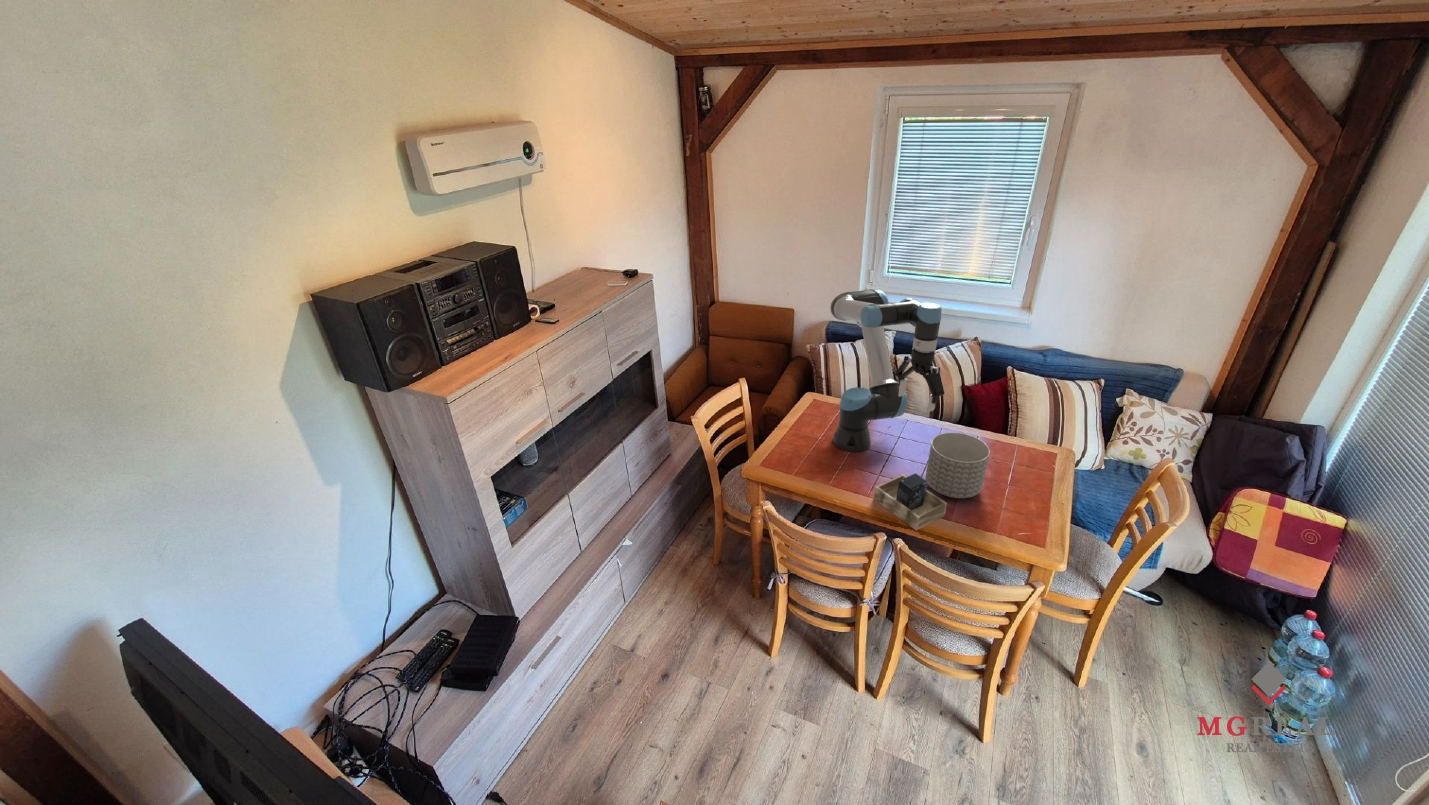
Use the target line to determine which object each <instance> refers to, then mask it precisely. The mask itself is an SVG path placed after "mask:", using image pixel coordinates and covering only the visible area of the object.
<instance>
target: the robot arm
mask: <svg viewBox="0 0 1429 805" xmlns="http://www.w3.org/2000/svg"><path fill="white" fill-rule="evenodd" d="M942 310H943V309H942V307H941V306H940V305H939V304H938V303H933V302H922V303H921V301H919V300H917V299H916V298H915V299H914V298H911V297H906V298H903V299H902V300H900V302H895V303H894V302H893V303H889V299H888V296H887V295H886V293H885V292H884V291H883V290H881V289H873V288H872V289H871V288H870V289H866V290H865V289H864V290H854V291H846V292H843V293H840V294H838V295H837V296H835V297H834V298H833V299H832V301H831V303H830V313H831V315H832V316H833V318H835V319H837V320H839V321H844V322H845V321H852V322H853V321H854V322H856V323H857V324H856V325H857V326H859V327H860V328H861V331H862V337H863V341H864V347H865V352H866V358H867V363H868V368H869V374H870V379H871V385H870V386H869V389H868V388H866V387H862V388H861V387H860V386H859V387H857V386H856V387H851V388H849V389H846V390H845V391H844V392H843V393H841V394H842V395H841V396H840V401H839V418H838V419H839V420H838V425H837V427H836V430H835V432H834V434H833V444H834V445H835V447H837V448H839V449H840V448H841V449H840V450H842V451H845V452H849V453H859V452H860V453H861V452H864V451H866V450H868V449H869V448H870V446H871V444H872V437H871V434H870V433H871V432H870V430H869V422H871V421H878V420H885V419H894V418H897V417H901V416H903V415H904V414H905V412H906V411H907V407H908V395H907V391H906V390H907V384H908V383H907V382H908V378H907V377H908V376H909V375H911V374H912V373H913V372H914V373H916V374H918V375H920V376H922V377H923V379H925V382H926V383H927V386H928V388H929V389H930V392H931V394H930V395H929V397H928V404H927V412H928V413H930V412H932V411H934V410H935V408H936V404H937V403H938V400H939V397H941V396H943V395H945V389H944V384H943V381H942V377H941V367H940V366H934V365H933V362H934V360H935V355H936V349H937V344H938V337H939V332H940V326H941V320H942ZM907 324H910V325H912V327H914V334H913V341H912V342H913V343H912V349H911V354H907V355H905V356H904V358H903V361H902V363H901V364H900V365H899V367H898V369H897V370H896V371H895V373H894V375H893V369H892V364H891V363H892V362H891V359H890V353H889V348H888V343H887V337H886V333H885V328H884V327H887V326H897V325H907ZM910 363H911V366H910V367H909V368H908V369H907V367H908V366H909V364H910ZM894 376H895V377H898V381H897V380H895V379H894Z"/></svg>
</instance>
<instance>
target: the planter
mask: <svg viewBox="0 0 1429 805" xmlns="http://www.w3.org/2000/svg"><path fill="white" fill-rule="evenodd" d="M990 456H991V449H990V448H989V446H988V444H987V443H985V442H984V441H982V440H981V439H980V438H979V437H975V436H973V435H970V434H967V433H963V432H962V433H961V432H950V431H949V432H943V433H939V434H938V435H936V436H934V437H933V438H932V440H931V442H930V448H929V453H928V460H927V466H926V470H925V471H926V472H925V478H924V479H925V480H926V481H927V486H929V488H931V489H932V490H933V491H935V492H937V493H938V494H941V495H943V496H946V497H949V498H954V499H968V498H973V497H976V496H977V495H979V493H981V491H982V488H983V484H984V479H985V476H986V473H987V467H988V464H989V458H990Z"/></svg>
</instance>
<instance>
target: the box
mask: <svg viewBox="0 0 1429 805" xmlns="http://www.w3.org/2000/svg"><path fill="white" fill-rule="evenodd" d="M927 486H928V484H927V481H926V478H923V477H922V476H920V475H919V474H917V472H916V473H913V474H911V475H909V476H907V477H906V478H904V479H901V480H899V485H898V492H897V498H896V500H897V501H899V502H900V503H901V504H903V505H904V506H906V507H907V508H908V509H910V510H913V509H915V508H918V507H920V506H922V505H923V503H924V497H925V492H926V490H927Z"/></svg>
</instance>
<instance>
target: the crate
mask: <svg viewBox="0 0 1429 805" xmlns="http://www.w3.org/2000/svg"><path fill="white" fill-rule="evenodd" d="M906 477H908V476H906V475H905V474H904V473H903V474H900V475H898V476H895V477H893V478H892V479H889V480H887V481H885V482H883V483H881V484H878V485H876V486H874V494H873V500H874V501H876V502H877V503H878V504H880V505H881V506H883V507H884V508H885V509H887V510H888V511H889V512H890V513H891V514H893V515H894V516H896V517H897V518H899V519H900V520H902V521H903V523H905V524H907V526H909V527H910V528H911V529H914V530H915V531H918V530H920V529H923V527H926V526H928V525H930V524H931V523H933V522H935V521H937V520H940V519H941V518H943V517H945V515H946V511H947V505H948V502H946V501H945V500H943V499H942V498H940V497H939V496H937V495H936V494H934V493H933V492H932V491H929V490H928V489H926V492H925V497H924V503H923V505H922V506H920V507H918V508H915V509H913V510H910V509H908V508H907V507H906V506H904V505H903V504H901V503H900V502H899V501H897V500H896V498H897V492H898V485H899V480H901V479H904V478H906Z"/></svg>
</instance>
